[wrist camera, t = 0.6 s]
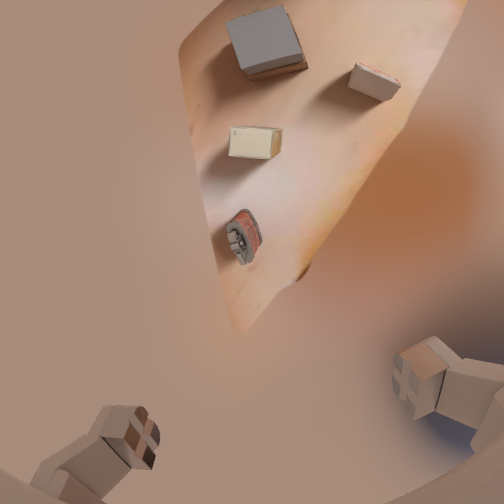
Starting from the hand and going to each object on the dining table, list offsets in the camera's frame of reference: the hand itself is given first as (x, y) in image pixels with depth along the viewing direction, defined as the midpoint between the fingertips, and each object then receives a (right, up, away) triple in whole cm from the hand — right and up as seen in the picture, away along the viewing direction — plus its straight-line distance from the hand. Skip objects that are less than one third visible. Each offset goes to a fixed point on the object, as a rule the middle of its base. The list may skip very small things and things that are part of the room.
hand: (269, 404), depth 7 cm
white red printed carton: (+19, +33, +29) cm, 48 cm away
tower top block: (+2, +37, +26) cm, 46 cm away
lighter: (-1, +9, +47) cm, 48 cm away
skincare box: (+2, +25, +38) cm, 46 cm away
